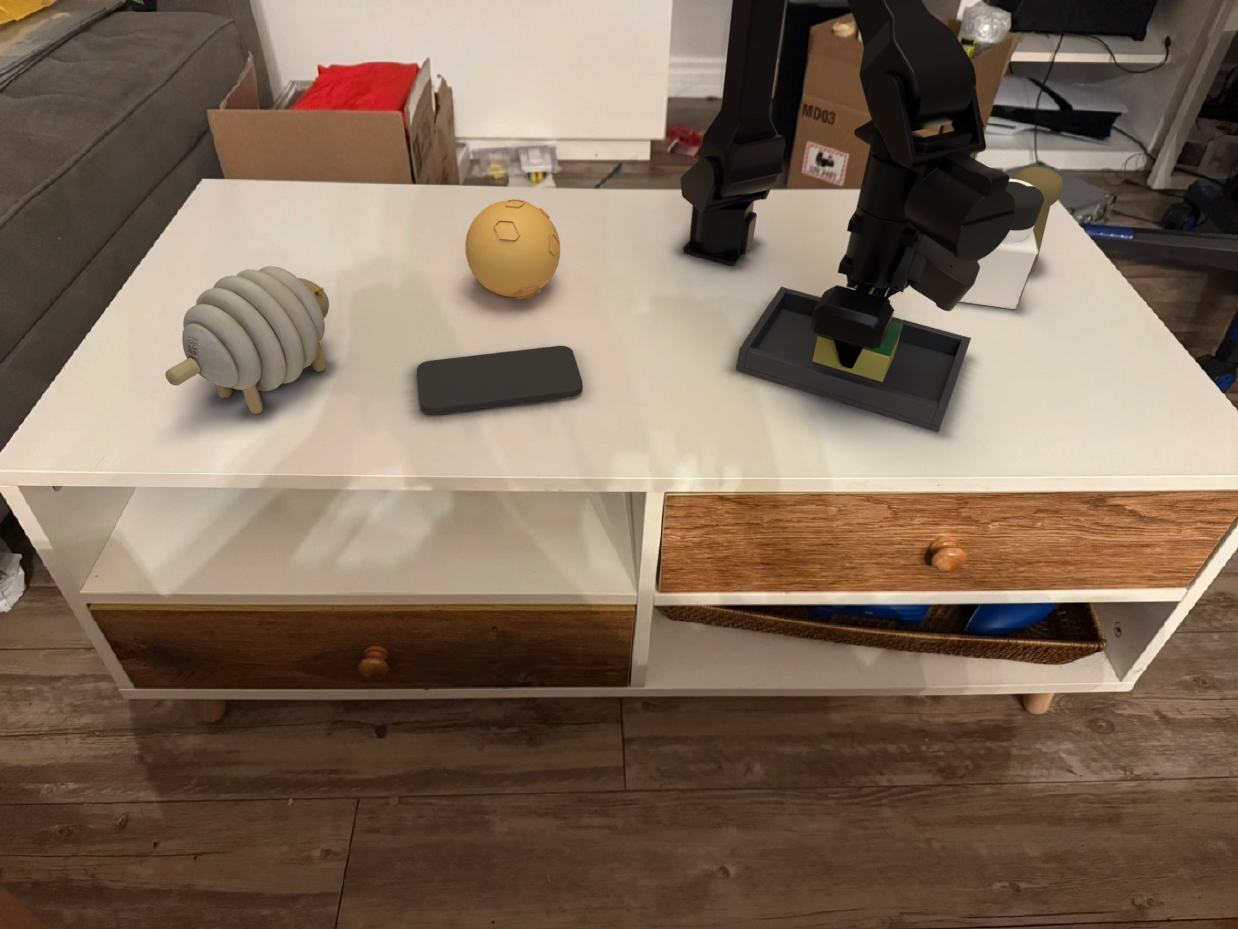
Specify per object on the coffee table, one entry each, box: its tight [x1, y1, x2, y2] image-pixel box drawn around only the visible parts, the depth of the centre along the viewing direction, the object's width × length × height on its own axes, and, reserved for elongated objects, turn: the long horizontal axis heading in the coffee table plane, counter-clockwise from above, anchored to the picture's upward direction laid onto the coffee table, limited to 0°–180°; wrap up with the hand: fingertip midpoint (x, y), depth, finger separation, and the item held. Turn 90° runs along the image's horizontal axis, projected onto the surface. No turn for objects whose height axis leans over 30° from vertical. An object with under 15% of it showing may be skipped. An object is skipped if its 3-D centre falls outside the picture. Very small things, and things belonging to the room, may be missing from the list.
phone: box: [416, 345, 584, 415], centre depth 84 cm, size 7×1×15 cm
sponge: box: [812, 321, 903, 382], centre depth 86 cm, size 7×4×4 cm, turn 64°
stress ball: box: [464, 198, 561, 300], centre depth 92 cm, size 10×10×10 cm
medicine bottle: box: [958, 178, 1044, 310], centre depth 94 cm, size 7×7×12 cm
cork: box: [1012, 166, 1064, 275], centre depth 99 cm, size 6×6×11 cm
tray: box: [735, 286, 972, 433], centre depth 87 cm, size 20×13×3 cm, turn 64°
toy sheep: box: [164, 265, 330, 415], centre depth 79 cm, size 11×17×11 cm, turn 152°
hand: (853, 353), depth 87 cm, fingers closed on sponge, 4 cm apart
